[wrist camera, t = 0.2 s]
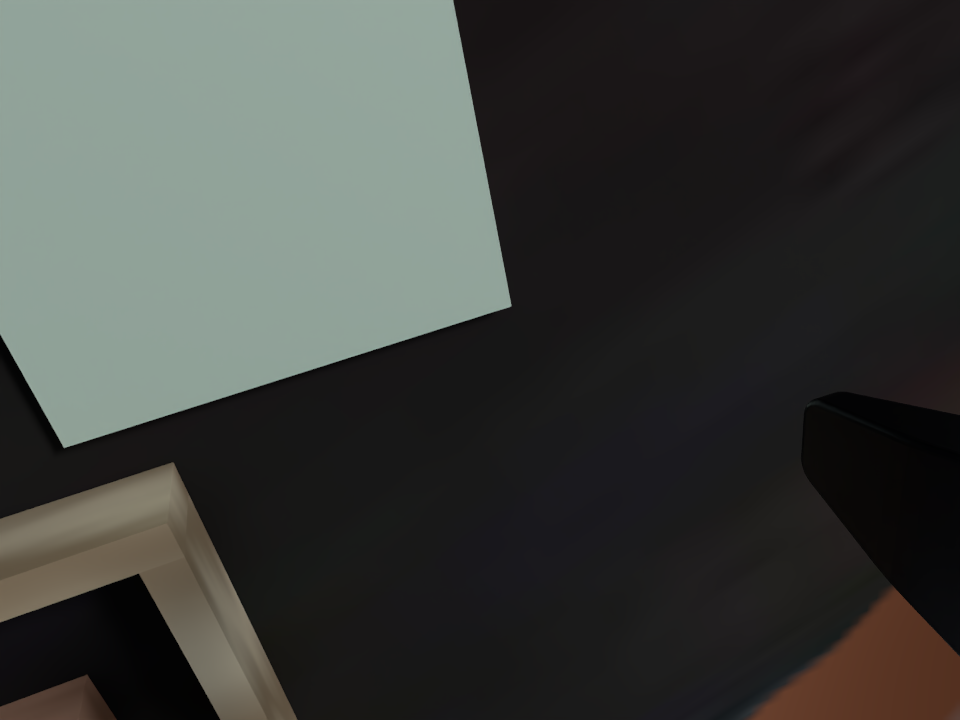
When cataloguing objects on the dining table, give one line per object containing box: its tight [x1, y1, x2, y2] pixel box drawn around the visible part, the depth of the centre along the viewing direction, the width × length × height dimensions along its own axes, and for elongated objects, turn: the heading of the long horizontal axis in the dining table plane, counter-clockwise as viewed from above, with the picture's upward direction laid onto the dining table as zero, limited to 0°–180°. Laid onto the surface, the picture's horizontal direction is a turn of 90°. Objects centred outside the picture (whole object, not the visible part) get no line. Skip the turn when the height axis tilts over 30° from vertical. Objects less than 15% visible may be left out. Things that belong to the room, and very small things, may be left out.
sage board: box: [0, 0, 511, 448], centre depth 19 cm, size 13×13×1 cm
